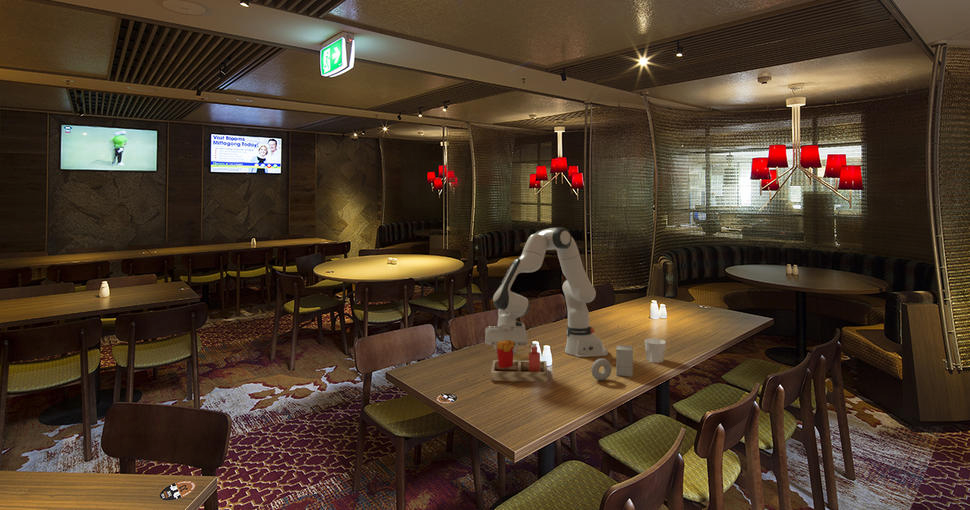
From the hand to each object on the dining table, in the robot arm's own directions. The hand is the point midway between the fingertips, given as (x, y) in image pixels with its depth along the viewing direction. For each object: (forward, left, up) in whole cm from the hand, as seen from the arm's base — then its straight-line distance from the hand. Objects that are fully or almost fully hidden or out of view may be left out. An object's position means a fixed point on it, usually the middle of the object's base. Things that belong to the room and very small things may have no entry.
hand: (505, 352), depth 220 cm
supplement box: (-55, -5, -11) cm, 56 cm away
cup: (-74, -25, -11) cm, 79 cm away
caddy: (-6, -1, -11) cm, 12 cm away
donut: (-43, +4, -11) cm, 45 cm away
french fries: (0, -1, -7) cm, 7 cm away
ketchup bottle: (-13, +1, -11) cm, 17 cm away
